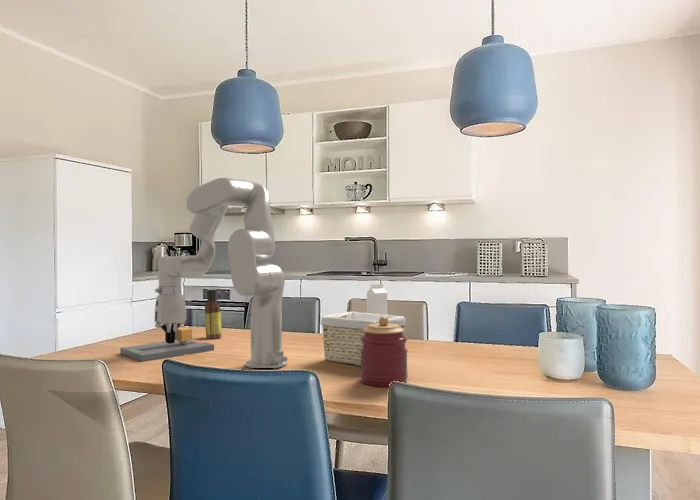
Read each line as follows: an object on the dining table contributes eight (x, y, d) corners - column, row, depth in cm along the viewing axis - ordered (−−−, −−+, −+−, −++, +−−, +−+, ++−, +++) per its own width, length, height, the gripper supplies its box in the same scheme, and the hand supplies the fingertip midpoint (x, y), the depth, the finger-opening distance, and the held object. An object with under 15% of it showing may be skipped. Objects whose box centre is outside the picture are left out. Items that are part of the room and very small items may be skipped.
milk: (366, 339, 207) (366, 284, 207) (379, 337, 210) (378, 283, 210) (375, 341, 201) (374, 284, 201) (388, 340, 205) (387, 284, 205)
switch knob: (192, 343, 186) (192, 329, 186) (181, 344, 184) (181, 330, 184) (184, 341, 191) (184, 327, 191) (173, 342, 188) (173, 328, 188)
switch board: (214, 350, 186) (214, 344, 186) (142, 361, 168) (142, 355, 168) (189, 343, 199) (189, 338, 199) (120, 353, 180) (120, 347, 180)
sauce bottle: (223, 336, 214) (223, 288, 214) (218, 339, 208) (218, 289, 208) (208, 336, 215) (208, 288, 215) (202, 339, 209) (202, 289, 208)
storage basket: (318, 360, 169) (318, 315, 169) (350, 352, 182) (350, 310, 182) (377, 371, 154) (377, 321, 154) (408, 361, 166) (407, 315, 166)
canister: (404, 375, 149) (404, 313, 149) (411, 387, 136) (410, 319, 136) (359, 375, 148) (358, 313, 148) (361, 387, 135) (361, 320, 135)
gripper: (154, 293, 176) (154, 347, 176) (194, 290, 186) (195, 341, 186) (144, 291, 181) (145, 344, 181) (184, 289, 192) (184, 339, 192)
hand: (170, 342), depth 184 cm, fingers closed
